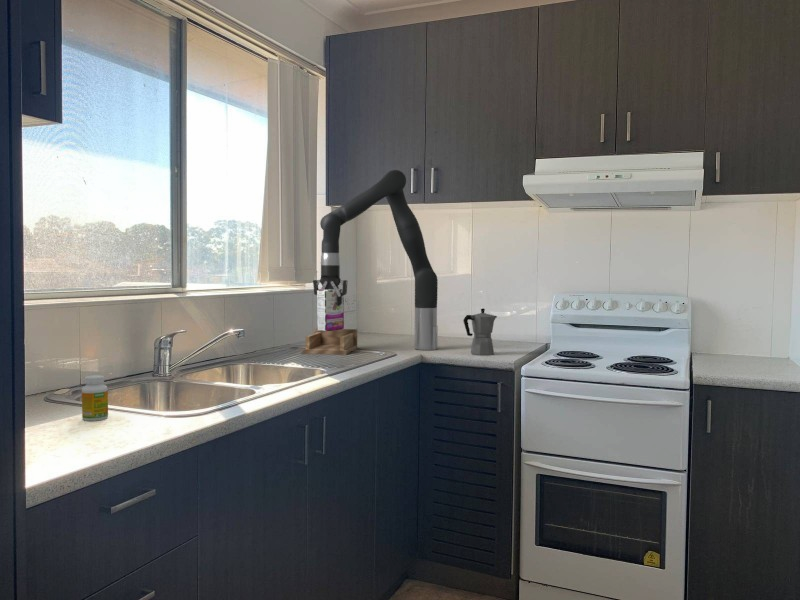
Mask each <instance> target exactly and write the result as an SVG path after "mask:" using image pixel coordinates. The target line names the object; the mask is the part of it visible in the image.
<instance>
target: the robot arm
mask: <svg viewBox="0 0 800 600" xmlns="http://www.w3.org/2000/svg"><path fill="white" fill-rule="evenodd" d="M406 183H407V177H406V175H405V174H404V172H403V171H401V170H397V169H393V170H389V171H388V172H386V173H385V175H383V177H382V178H381V179H380V180H379V181H378V182H376V183H375V184H374V185H372V186H371V187H369V188H368V189H366V190H365V191H363V192H361V193H360V194H358V195H355V196H354V197H352V198H351V199H349V200H348V201H346V202H345V203H343V204H341V206H339V207H338V208H336V209H334V210H332V211H330V212H328V213H327V214H326V215H324V216H322V217H321V219H320V223H319V224H320V225H319V226H320V228H321V230H322V233H323V235H322V236H323V237H322V240H321V255H320V279H314V280H313V281H312V285H313V294H314V295H315V296H317V290H319V285H320V284H321V287H320V288H321V289H320V290H329V289H331V290H335V292H336V293H337V295H338V297H337V306H340V305H341V304H342V296H343V295H344V296H346V295H347V294H348V280H347V279H344V280H342V279H341V277H340V276H341V274H340V272H341V271H340V269H341V268H340V267H341V265H340V264H341V263H340V260H341V258H340V235H341V227H342V226H343V225H344V224H345V223H347V222H350V221H351V220H353V219H355V218H356V217H357V218H358V216H360V215H361V214H363V213H365V212H366V211H367V210H369V209H370V208H371V207H372V206H374V205H375V204H376V203H378V202H380V201H381V200H383V199H384V198H385V199H386V201H387V203H388V204H389V205H388V206H389V208H390V210H391V214H392V218H393V221H394V225H395V227H396V229H397V232H398V236H399V239H400V242H401V244H402V246H403V248H404V251H405V253H406V255H407V256H408V259H409V261H410V265H411V268H412V272H413V277H414V349H415V350H419V351H431V350H433V351H434V350H435V351H436V350H437V349H438V330H439V329H438V328H439V327H438V289H439V288H438V285H439V284H438V283H439V282H438V276H437V274H436V272H435V271H434V268H433V266H432V264H431V263H430V260H429V258H428V255H427V250H426V246H425V244H426V243H425V240H424V236H423V233H422V229H421V226H420V224H419V222H418V219H417V217H416V215H415V214H414V212H413V211H412V210H411V208H410V206H409V204H408V203H407V199H406V196H405V194H404V193H405V192H404V188H405V187H406ZM340 284H341V286H342V289H343V290H342V293H341V291H340V289H341V288H340V287H339V286H340Z"/></svg>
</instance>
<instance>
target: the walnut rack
mask: <svg viewBox="0 0 800 600" xmlns="http://www.w3.org/2000/svg"><path fill="white" fill-rule="evenodd" d="M313 332H314V333H312V334H309V335H306V336H305V348H302V349H301V354H308V355H309V354H311V355H314V354H315V355H345V356H346V355H348V354H350V353H352V352H354V351H355V350H357V349H358V328H355V329H354V328H353V329H351V328H344V329H340V330H333V331H318V330H317V328H316V327H315V328H314V331H313ZM353 350H354V351H353ZM351 351H352V352H351Z"/></svg>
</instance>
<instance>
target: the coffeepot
mask: <svg viewBox="0 0 800 600" xmlns="http://www.w3.org/2000/svg"><path fill="white" fill-rule="evenodd" d="M485 310H486V308H483V307H482V308H480V311H481V312H480V313H475V314H467V315H466V316H465V317H464V318H463V320H462V321H463V325H464V328H465V331H466V335H467V336H469V337H472V336H473V338H472V343H471V347H470V348H471V349H470V354H471V355H473V356H492V355H494V354H495V352H494V345H493V338H492V333H493V328H494V324H495V323H494V322H495V320H496V319H497V318H498V316H497V315H494V314H489V313H486V312H485ZM469 321H471V326H472V332H473V333H472V332H470V331H471V330H470V329H471V328H470V327H469Z"/></svg>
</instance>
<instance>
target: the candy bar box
mask: <svg viewBox="0 0 800 600" xmlns="http://www.w3.org/2000/svg"><path fill="white" fill-rule="evenodd" d="M339 289H340V291H341V293H342V290H343V288H342V289H341V288H339ZM344 296H345V295H343V296H342V304H341V305H340V306H337V297H338V295H337V293H336V292H335V290H331V289H329V290H321V289H318V290H317V295H316V303H317V304H316V305H317V306H316V309H317V312H316V313H317V315H316V317H317V321H316V323H317V330H318V331H333V330H340V329H345V327H344V325H345V322H344V321H345V320H344V319H345V316H344V315H345V314H344V313H345V312H344V311H345V310H344V308H345V307H344V306H345V305H344V300H345V299H344Z"/></svg>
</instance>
